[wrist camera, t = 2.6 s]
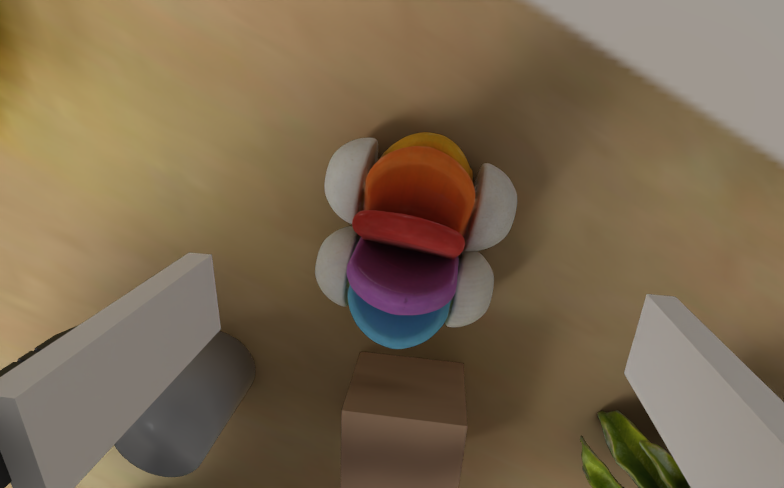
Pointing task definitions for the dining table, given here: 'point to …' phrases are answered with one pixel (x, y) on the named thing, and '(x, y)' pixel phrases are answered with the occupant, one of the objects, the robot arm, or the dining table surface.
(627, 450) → the passion flower
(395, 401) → the walnut block
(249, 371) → the grey cylinder
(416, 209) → the rainbow cloud toy
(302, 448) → the dining table surface
